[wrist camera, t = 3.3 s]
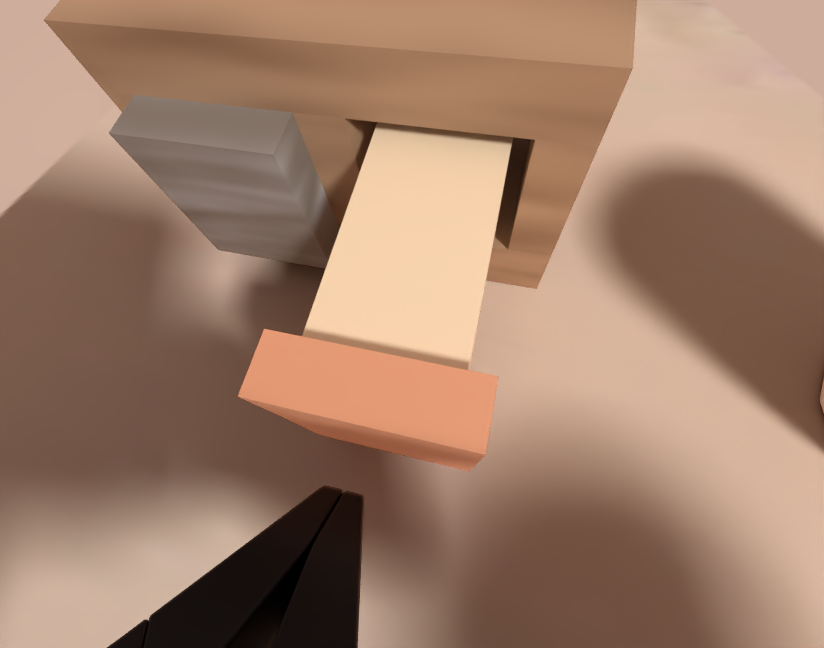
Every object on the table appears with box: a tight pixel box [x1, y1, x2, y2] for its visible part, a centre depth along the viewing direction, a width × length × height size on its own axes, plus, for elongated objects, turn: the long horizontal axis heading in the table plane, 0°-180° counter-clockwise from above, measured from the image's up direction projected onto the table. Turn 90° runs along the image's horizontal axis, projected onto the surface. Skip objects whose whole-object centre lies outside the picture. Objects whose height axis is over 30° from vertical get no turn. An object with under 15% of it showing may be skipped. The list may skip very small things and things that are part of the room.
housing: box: [44, 0, 637, 289], centre depth 15 cm, size 10×14×10 cm
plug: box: [238, 122, 513, 471], centre depth 12 cm, size 10×5×6 cm, turn 167°
